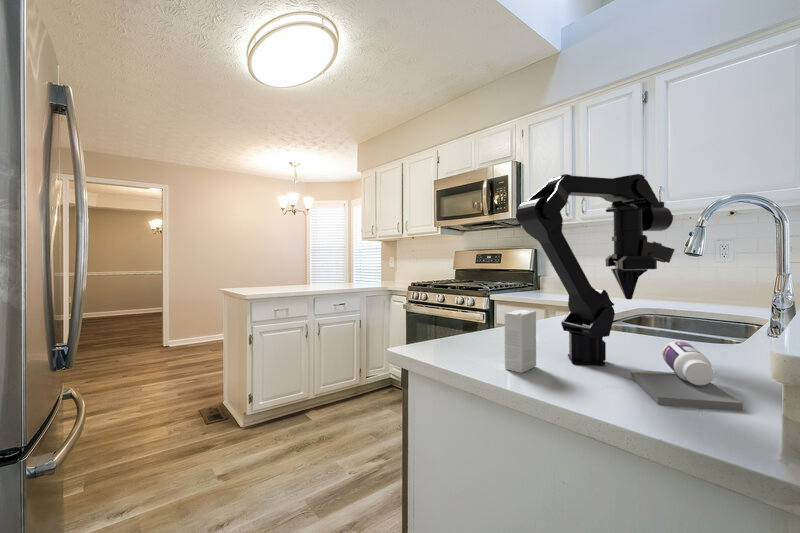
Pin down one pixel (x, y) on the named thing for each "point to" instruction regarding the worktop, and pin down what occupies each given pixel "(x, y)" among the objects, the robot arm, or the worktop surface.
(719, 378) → the worktop surface
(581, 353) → the robot arm
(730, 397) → the mat
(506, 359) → the skincare box
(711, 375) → the pill bottle
